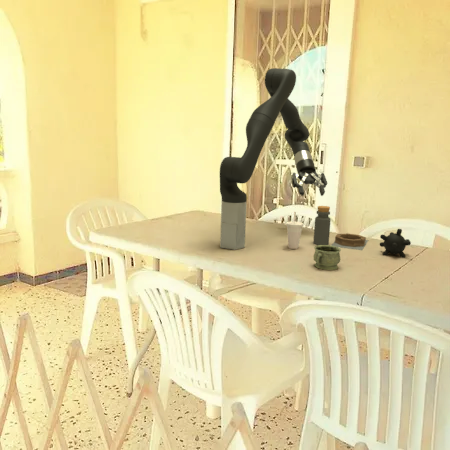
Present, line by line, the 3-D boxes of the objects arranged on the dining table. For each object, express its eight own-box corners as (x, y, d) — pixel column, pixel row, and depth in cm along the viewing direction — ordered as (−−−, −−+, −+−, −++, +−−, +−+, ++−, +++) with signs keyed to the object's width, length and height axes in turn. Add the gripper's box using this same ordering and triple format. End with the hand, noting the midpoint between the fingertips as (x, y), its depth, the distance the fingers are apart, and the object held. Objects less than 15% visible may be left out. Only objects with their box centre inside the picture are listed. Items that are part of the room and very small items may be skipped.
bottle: (327, 243, 187) (330, 205, 184) (329, 247, 181) (332, 208, 178) (312, 242, 187) (315, 205, 184) (313, 246, 182) (316, 207, 179)
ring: (362, 248, 180) (362, 241, 179) (333, 244, 184) (333, 238, 183) (366, 241, 189) (366, 235, 189) (338, 238, 194) (339, 232, 193)
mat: (362, 251, 176) (362, 250, 176) (330, 247, 181) (330, 246, 181) (368, 241, 192) (368, 240, 192) (338, 237, 197) (338, 236, 197)
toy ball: (390, 241, 180) (420, 239, 171) (382, 264, 175) (413, 264, 166) (377, 224, 175) (407, 221, 166) (368, 247, 170) (399, 246, 161)
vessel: (324, 260, 163) (325, 242, 162) (347, 265, 158) (348, 247, 156) (304, 267, 155) (306, 248, 153) (328, 273, 149) (330, 254, 148)
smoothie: (282, 248, 176) (284, 212, 173) (288, 245, 182) (290, 209, 179) (298, 251, 173) (301, 214, 170) (304, 247, 179) (306, 211, 176)
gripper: (290, 157, 196) (298, 189, 187) (323, 158, 198) (332, 189, 190) (286, 169, 202) (293, 200, 193) (317, 169, 205) (326, 200, 196)
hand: (312, 194), depth 192 cm, fingers open, 8 cm apart
